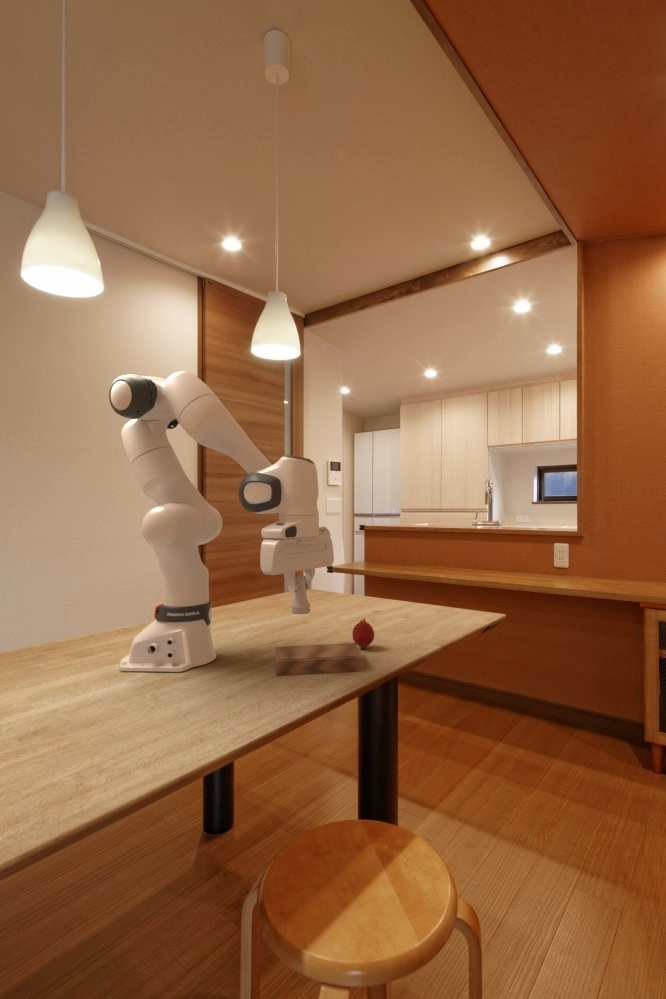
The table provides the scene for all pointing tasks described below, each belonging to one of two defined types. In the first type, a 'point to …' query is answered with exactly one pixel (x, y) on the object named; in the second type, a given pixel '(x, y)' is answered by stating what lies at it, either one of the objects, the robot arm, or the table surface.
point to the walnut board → (318, 659)
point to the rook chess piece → (300, 597)
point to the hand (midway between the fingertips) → (299, 590)
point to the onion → (363, 634)
